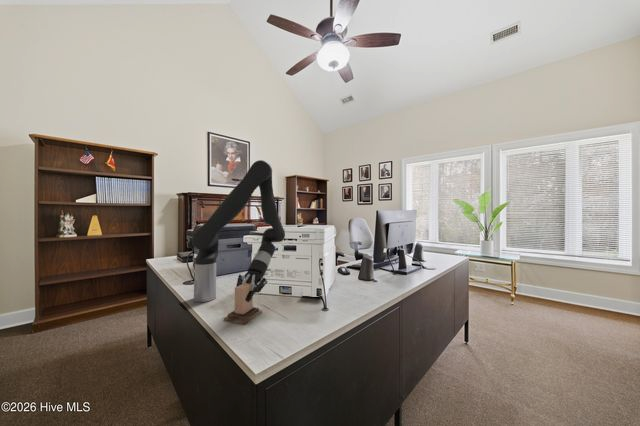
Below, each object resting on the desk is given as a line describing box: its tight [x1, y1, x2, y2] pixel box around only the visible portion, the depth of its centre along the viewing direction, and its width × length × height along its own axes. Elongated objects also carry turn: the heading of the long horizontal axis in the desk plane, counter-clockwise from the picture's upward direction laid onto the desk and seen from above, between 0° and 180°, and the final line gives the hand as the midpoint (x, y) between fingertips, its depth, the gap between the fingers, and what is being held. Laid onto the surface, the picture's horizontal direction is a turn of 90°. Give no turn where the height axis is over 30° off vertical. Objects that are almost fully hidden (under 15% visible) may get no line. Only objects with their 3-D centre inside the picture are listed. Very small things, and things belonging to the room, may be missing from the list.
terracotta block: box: [234, 283, 254, 314], centre depth 96 cm, size 4×6×10 cm, turn 160°
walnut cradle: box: [223, 306, 263, 326], centre depth 96 cm, size 10×12×3 cm
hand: (242, 300), depth 95 cm, fingers closed on terracotta block, 4 cm apart
